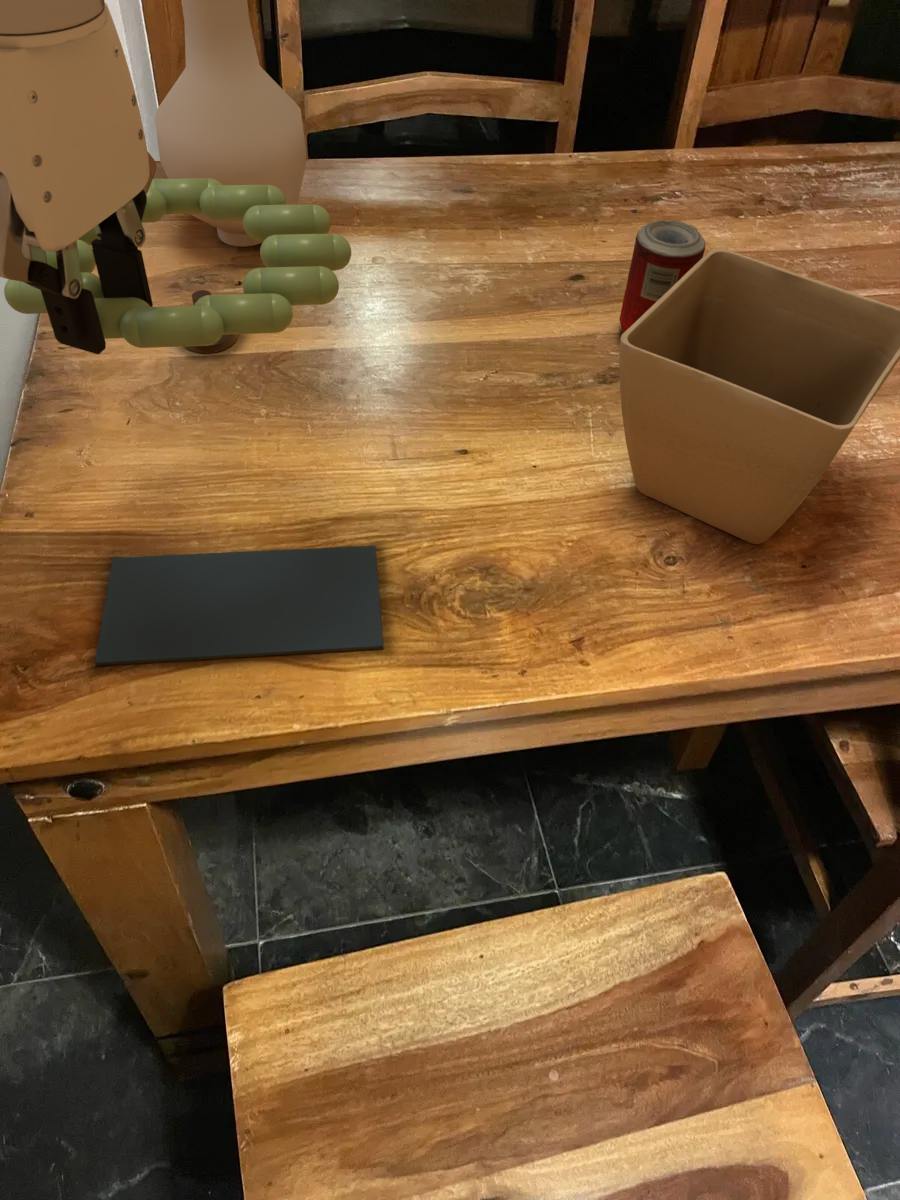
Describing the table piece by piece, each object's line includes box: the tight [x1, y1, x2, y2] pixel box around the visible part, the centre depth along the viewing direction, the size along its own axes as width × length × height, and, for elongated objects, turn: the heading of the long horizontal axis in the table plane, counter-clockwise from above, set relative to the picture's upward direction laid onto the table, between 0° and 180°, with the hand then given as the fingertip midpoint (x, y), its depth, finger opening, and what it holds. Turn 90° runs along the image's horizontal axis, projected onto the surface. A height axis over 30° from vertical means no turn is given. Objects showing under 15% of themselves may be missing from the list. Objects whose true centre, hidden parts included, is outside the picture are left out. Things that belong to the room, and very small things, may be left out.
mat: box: [94, 545, 384, 667], centre depth 76 cm, size 22×11×1 cm, turn 96°
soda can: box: [619, 219, 707, 334], centre depth 99 cm, size 7×7×12 cm
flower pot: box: [619, 247, 900, 545], centre depth 82 cm, size 19×19×17 cm
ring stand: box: [184, 289, 238, 354], centre depth 98 cm, size 6×6×5 cm
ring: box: [3, 178, 352, 349], centre depth 63 cm, size 23×19×2 cm
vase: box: [154, 0, 307, 248], centre depth 104 cm, size 17×16×28 cm
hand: (105, 322), depth 58 cm, fingers closed on ring, 4 cm apart
